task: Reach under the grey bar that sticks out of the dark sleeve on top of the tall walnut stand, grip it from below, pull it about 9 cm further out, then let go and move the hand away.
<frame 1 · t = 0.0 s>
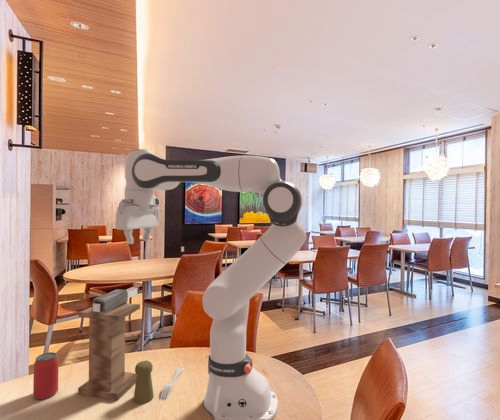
hand: (138, 242, 102), 48 cm above the table, tool pointing down, fingers open, 8 cm apart
grey bar: (118, 297, 107), point 28 cm above the table, slide at 0.0 cm
fork: (172, 384, 106), on the table
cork: (143, 398, 97), on the table
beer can: (45, 394, 99), on the table
tube stand: (109, 386, 103), on the table
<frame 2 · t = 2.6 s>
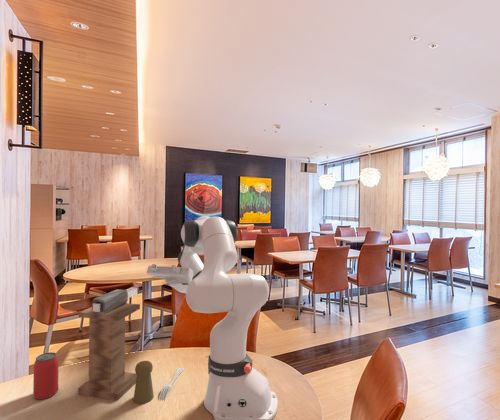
hand: (162, 266, 134), 34 cm above the table, tool pointing upward, fingers open, 8 cm apart
nothing on the table moved.
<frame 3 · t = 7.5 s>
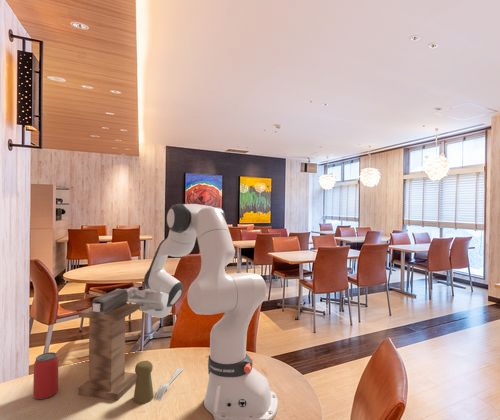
hand: (130, 291, 114), 29 cm above the table, tool pointing upward, fingers closed on grey bar, 2 cm apart
grey bar: (118, 297, 107), point 28 cm above the table, slide at 0.0 cm, touching gripper
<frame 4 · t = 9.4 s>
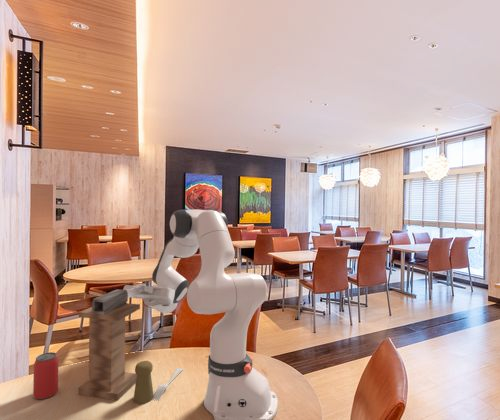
hand: (139, 287, 120), 29 cm above the table, tool pointing upward, fingers closed on grey bar, 2 cm apart
grey bar: (128, 293, 113), point 28 cm above the table, slide at 5.9 cm, touching gripper
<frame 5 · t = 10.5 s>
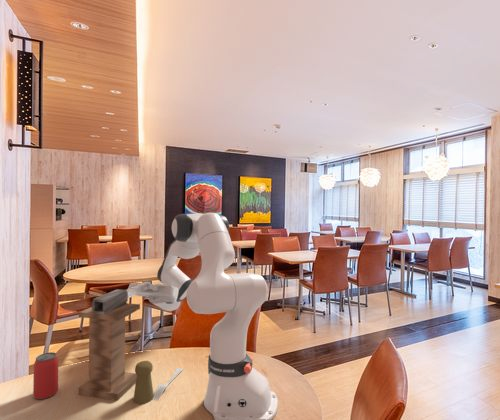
hand: (144, 285, 123), 29 cm above the table, tool pointing upward, fingers closed on grey bar, 2 cm apart
grey bar: (133, 290, 116), point 28 cm above the table, slide at 9.4 cm, touching gripper
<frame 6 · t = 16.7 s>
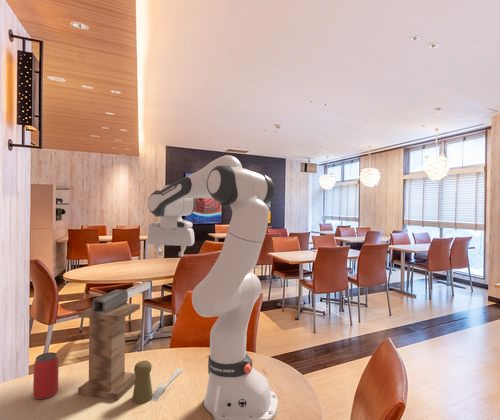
hand: (170, 255, 132), 39 cm above the table, tool pointing down, fingers open, 8 cm apart
grey bar: (133, 290, 116), point 28 cm above the table, slide at 9.5 cm
at the end: grey bar slide at 9.5 cm; the gripper is holding nothing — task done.
